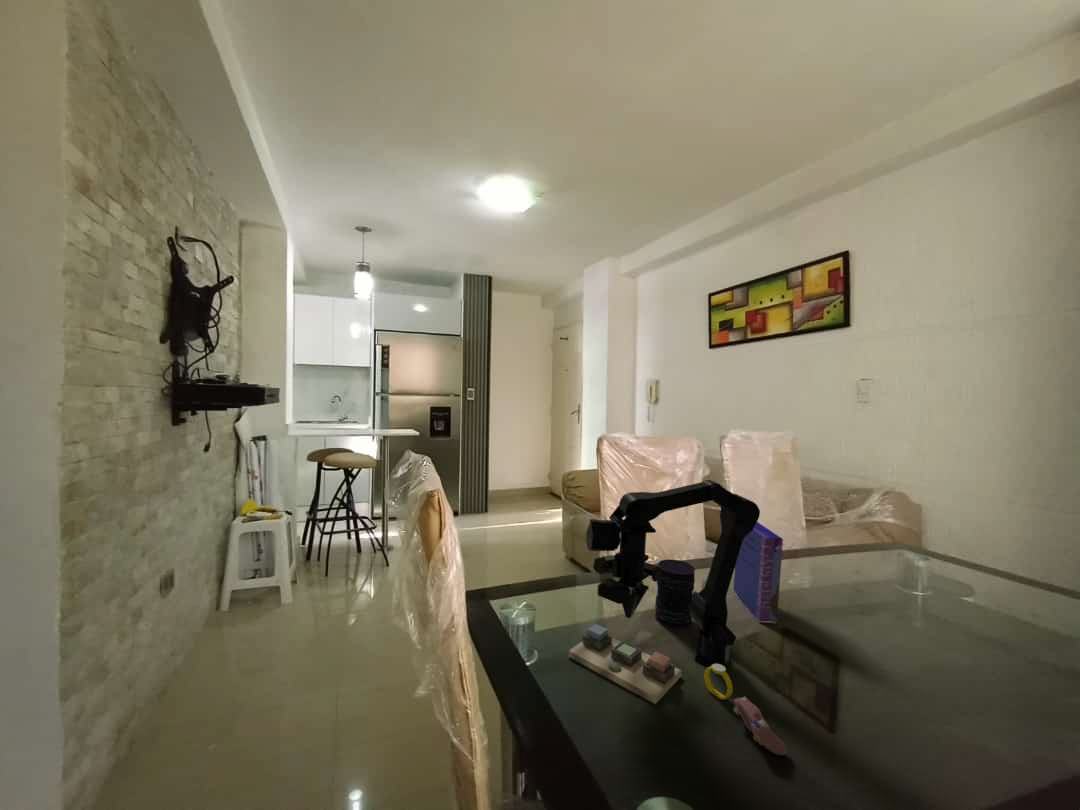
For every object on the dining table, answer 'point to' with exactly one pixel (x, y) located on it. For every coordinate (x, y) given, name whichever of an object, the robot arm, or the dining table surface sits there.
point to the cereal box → (759, 573)
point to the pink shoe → (758, 726)
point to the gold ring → (722, 670)
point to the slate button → (597, 632)
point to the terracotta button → (659, 662)
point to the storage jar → (674, 594)
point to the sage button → (626, 650)
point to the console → (625, 667)
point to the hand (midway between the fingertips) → (628, 617)
